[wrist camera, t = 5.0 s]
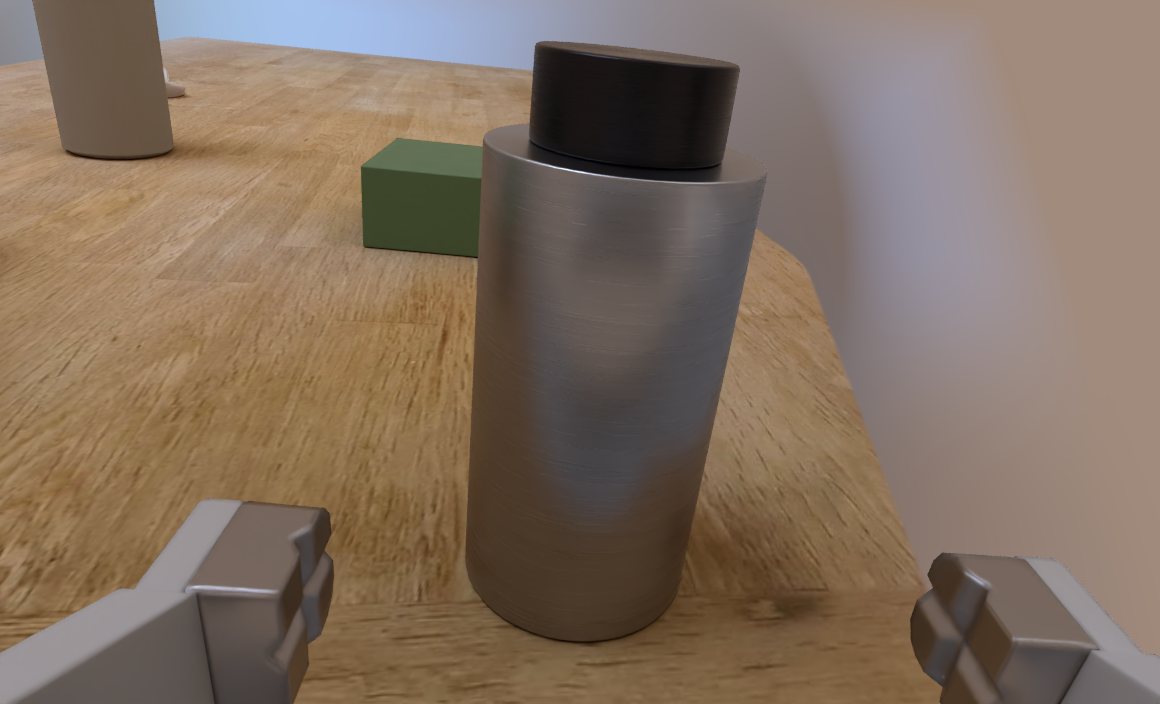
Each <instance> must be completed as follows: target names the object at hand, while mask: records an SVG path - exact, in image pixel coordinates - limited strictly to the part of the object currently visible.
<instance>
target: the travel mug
mask: <svg viewBox="0 0 1160 704" xmlns="http://www.w3.org/2000/svg"><path fill="white" fill-rule="evenodd" d="M32 1H33V6H34V11H35V16H36V21H37V25H38V30H39V35H40V40H41V45H42V50H43V54H44V60H45V65H46V70H47V74H48V79H49V84H50V89H51V94H52V99H53V104H54V109H55V113H56V118H57V123H58V128H59V133H60V138H61V143H62V147H63V148H65V149H67V150H69V151H71V152H73V153H75V154H78V155H82V156H88V157H95V158H105V159H135V158H146V157H153V156H158V155H162V154H164V153H166V152H168V151H169V150H171V149H172V148H174V143H173V136H172V129H171V121H170V114H169V107H168V100H167V92H166V85H165V78H164V71H163V64H162V56H161V49H160V42H159V35H158V28H157V21H156V13H155V7H154V0H32Z"/></svg>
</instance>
